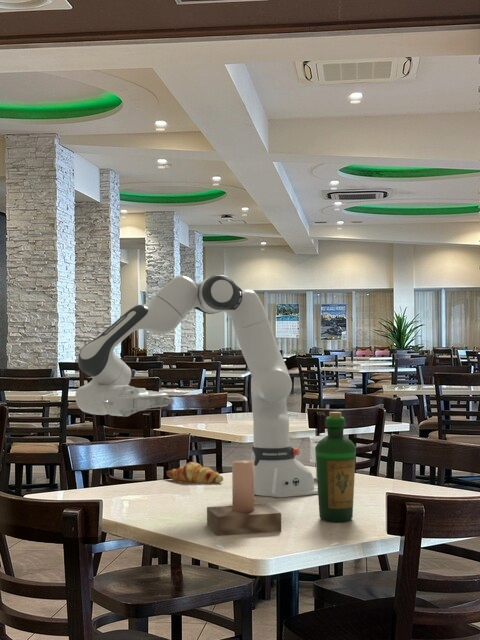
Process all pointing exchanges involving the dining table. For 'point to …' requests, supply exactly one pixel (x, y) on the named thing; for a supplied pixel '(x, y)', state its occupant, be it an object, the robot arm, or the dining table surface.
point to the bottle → (335, 472)
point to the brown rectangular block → (243, 520)
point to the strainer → (312, 447)
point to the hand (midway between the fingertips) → (161, 402)
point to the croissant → (194, 474)
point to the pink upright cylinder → (243, 486)
